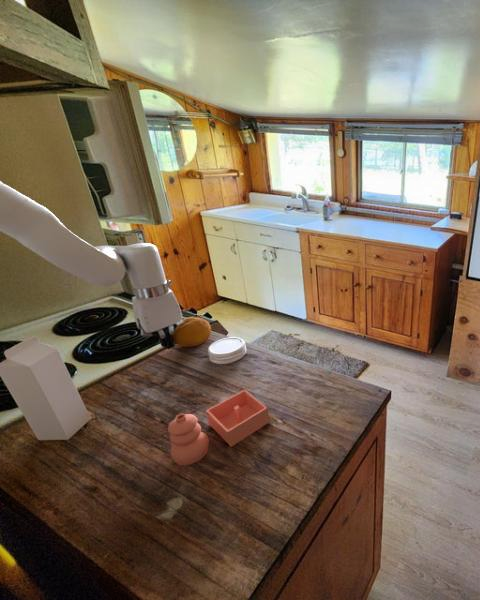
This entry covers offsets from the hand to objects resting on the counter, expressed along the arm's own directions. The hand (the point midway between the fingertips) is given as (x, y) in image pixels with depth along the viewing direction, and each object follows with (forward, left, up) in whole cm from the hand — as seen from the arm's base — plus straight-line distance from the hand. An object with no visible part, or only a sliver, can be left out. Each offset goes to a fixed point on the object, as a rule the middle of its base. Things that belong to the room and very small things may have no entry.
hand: (168, 346), depth 96 cm
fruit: (0, +7, -3) cm, 8 cm away
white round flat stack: (+15, +8, -3) cm, 17 cm away
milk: (+10, -27, -3) cm, 29 cm away
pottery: (+40, -12, -3) cm, 42 cm away
